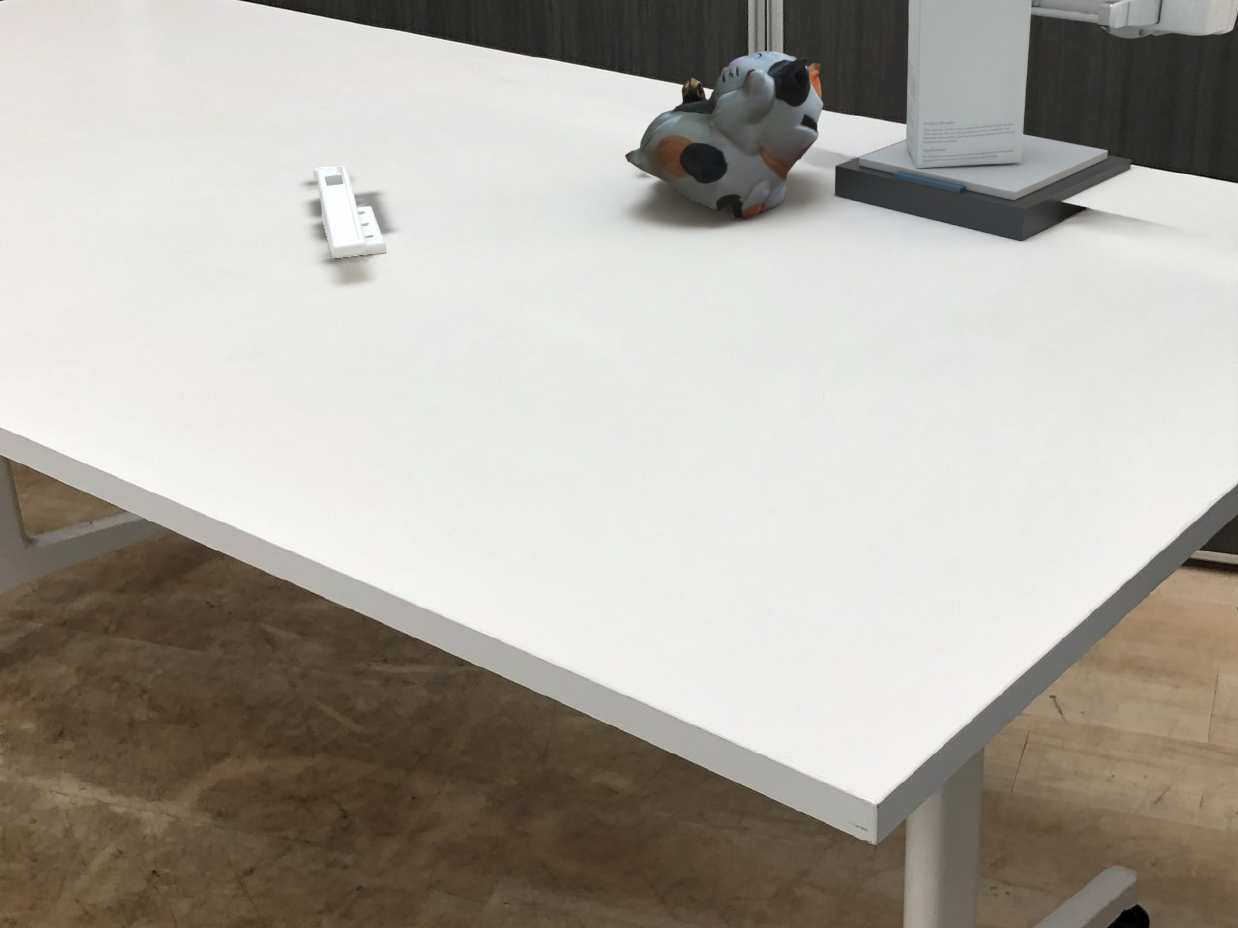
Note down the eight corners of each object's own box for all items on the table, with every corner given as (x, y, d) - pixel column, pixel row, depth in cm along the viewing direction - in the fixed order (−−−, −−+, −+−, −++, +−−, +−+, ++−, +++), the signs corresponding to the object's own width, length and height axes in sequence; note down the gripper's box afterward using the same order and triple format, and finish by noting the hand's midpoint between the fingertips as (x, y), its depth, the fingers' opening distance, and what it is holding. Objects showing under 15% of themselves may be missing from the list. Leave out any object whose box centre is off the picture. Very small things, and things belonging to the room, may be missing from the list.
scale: (1127, 189, 112) (1132, 150, 111) (1021, 241, 103) (1025, 199, 102) (944, 151, 123) (947, 115, 122) (834, 195, 114) (835, 157, 113)
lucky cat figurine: (669, 165, 123) (746, 13, 118) (787, 236, 120) (871, 82, 115) (597, 164, 109) (680, -8, 104) (727, 243, 106) (819, 70, 101)
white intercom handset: (366, 195, 120) (357, 131, 117) (395, 277, 103) (386, 203, 100) (317, 201, 119) (307, 136, 116) (338, 285, 102) (327, 211, 99)
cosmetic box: (1006, 144, 113) (1023, -53, 106) (1022, 167, 108) (1041, -39, 101) (899, 148, 114) (909, -49, 107) (910, 171, 109) (920, -34, 102)
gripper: (1034, -68, 125) (941, -44, 117) (1265, -49, 112) (1179, -20, 104) (1027, 6, 128) (936, 35, 120) (1252, 34, 115) (1167, 68, 107)
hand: (1051, 9), depth 112 cm, fingers open, 8 cm apart
